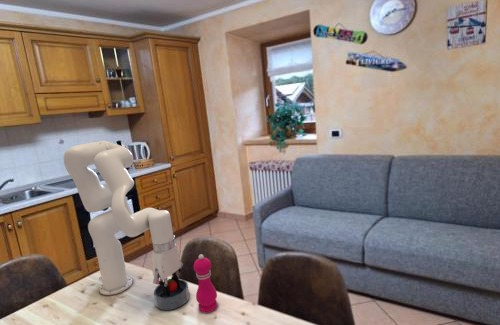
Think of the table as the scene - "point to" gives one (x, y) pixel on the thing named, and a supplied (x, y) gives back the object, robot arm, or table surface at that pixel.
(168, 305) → the bowl
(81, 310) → the table surface
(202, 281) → the pepper mill
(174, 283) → the strawberry
